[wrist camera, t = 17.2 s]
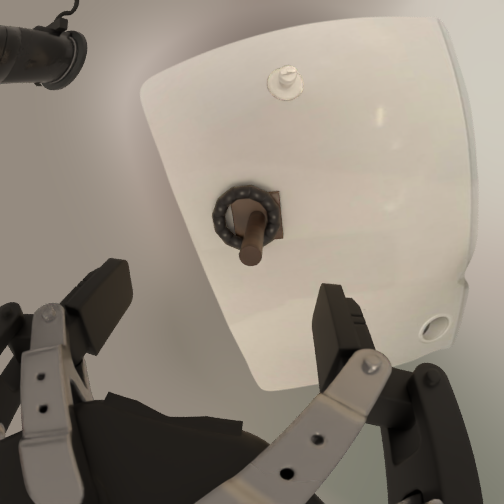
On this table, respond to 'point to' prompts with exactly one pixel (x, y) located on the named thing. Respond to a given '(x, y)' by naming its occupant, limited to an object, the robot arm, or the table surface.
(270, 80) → the chess piece
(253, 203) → the peg stand
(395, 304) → the table surface
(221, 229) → the ring
